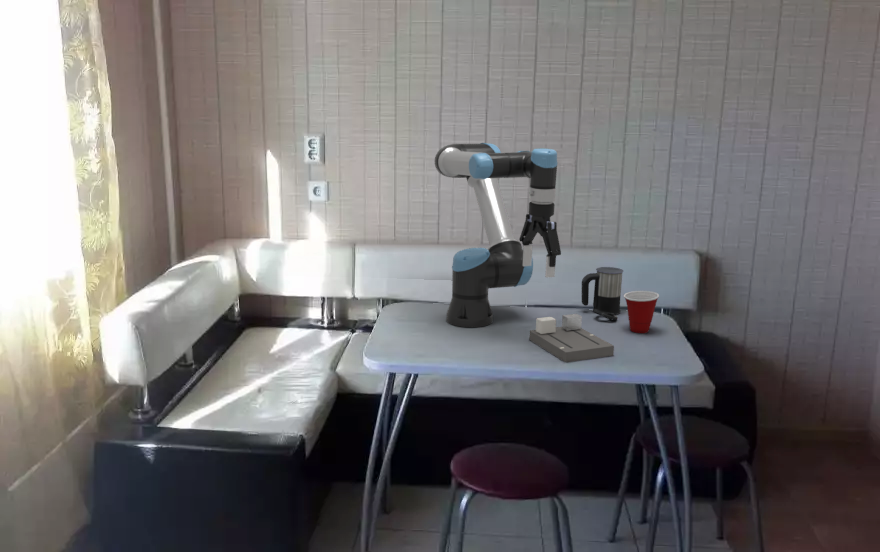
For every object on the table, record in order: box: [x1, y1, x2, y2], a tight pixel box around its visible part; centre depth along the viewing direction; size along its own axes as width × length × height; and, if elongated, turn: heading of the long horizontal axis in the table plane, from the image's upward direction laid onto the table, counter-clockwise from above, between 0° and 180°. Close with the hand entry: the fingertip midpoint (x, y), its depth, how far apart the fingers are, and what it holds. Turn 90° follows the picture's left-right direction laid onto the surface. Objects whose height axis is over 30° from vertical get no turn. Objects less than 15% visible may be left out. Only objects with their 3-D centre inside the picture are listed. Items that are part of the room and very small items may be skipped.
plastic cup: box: [623, 290, 660, 334], centre depth 258 cm, size 11×11×12 cm
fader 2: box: [561, 313, 583, 331], centre depth 250 cm, size 3×5×4 cm, turn 113°
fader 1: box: [535, 316, 557, 334], centre depth 246 cm, size 3×5×4 cm, turn 113°
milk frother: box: [581, 266, 624, 322], centre depth 274 cm, size 14×16×15 cm
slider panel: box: [528, 326, 615, 363], centre depth 243 cm, size 21×16×3 cm
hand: (538, 271), depth 248 cm, fingers open, 13 cm apart
